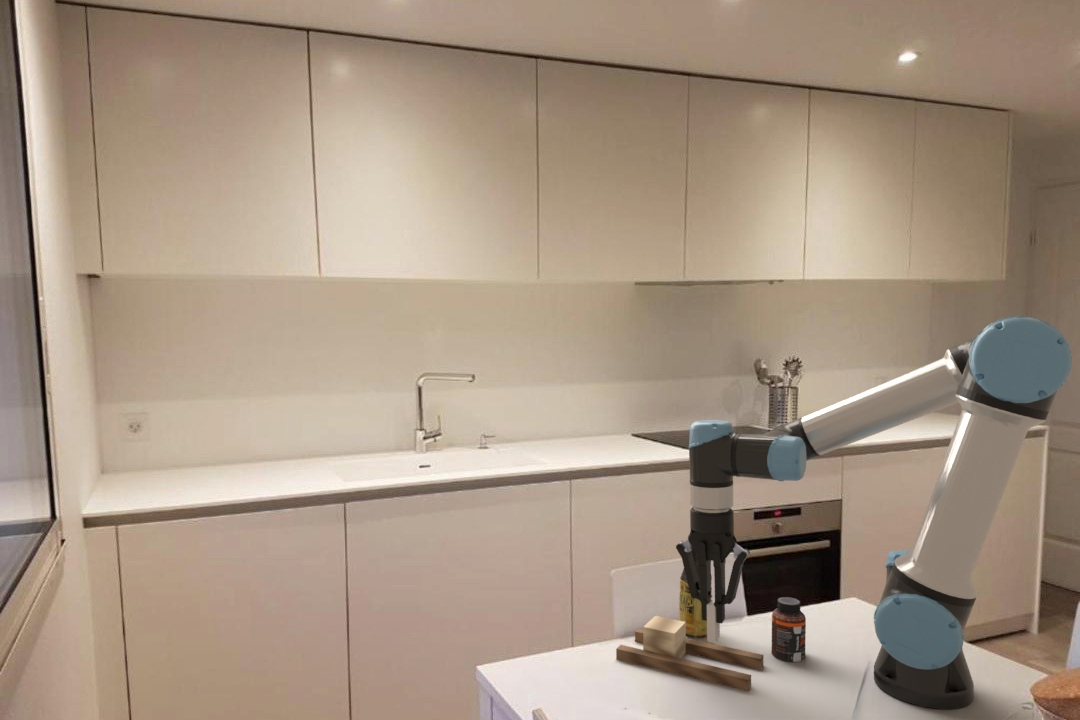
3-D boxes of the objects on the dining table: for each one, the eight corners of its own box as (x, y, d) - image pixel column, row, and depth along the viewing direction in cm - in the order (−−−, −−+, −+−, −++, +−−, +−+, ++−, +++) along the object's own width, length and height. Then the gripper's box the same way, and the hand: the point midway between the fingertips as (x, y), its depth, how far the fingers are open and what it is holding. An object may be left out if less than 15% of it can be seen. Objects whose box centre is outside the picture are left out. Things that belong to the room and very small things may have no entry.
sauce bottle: (673, 633, 147) (673, 536, 146) (700, 629, 149) (701, 533, 148) (689, 646, 141) (689, 545, 140) (717, 642, 142) (718, 542, 142)
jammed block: (685, 653, 135) (685, 621, 135) (674, 666, 130) (674, 633, 130) (655, 646, 138) (655, 615, 138) (643, 659, 133) (643, 626, 133)
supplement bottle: (807, 669, 131) (808, 607, 130) (773, 666, 132) (773, 605, 132) (802, 655, 137) (803, 596, 136) (769, 652, 138) (770, 593, 137)
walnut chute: (764, 669, 131) (764, 653, 131) (747, 699, 120) (747, 681, 120) (640, 641, 143) (640, 626, 143) (615, 666, 132) (615, 649, 132)
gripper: (754, 506, 128) (755, 638, 129) (683, 500, 135) (685, 625, 136) (743, 516, 122) (744, 654, 122) (669, 508, 128) (671, 639, 129)
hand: (713, 639), depth 129 cm, fingers closed
